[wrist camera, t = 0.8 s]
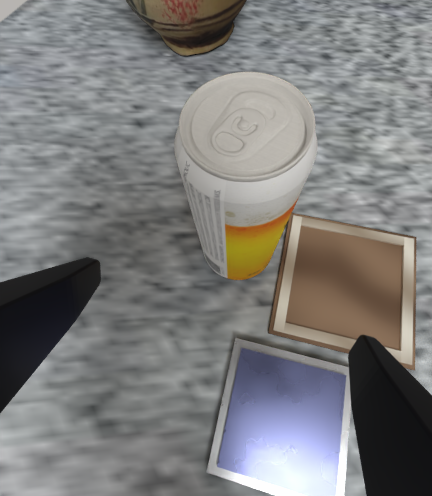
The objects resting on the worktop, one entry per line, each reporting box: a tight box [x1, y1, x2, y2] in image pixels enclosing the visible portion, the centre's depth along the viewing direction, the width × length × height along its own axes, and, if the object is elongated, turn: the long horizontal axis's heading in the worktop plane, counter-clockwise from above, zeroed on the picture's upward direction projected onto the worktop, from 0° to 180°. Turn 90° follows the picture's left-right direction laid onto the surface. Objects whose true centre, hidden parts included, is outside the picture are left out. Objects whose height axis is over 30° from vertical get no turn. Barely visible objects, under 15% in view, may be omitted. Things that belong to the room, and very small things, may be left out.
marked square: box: [268, 213, 416, 370], centre depth 23 cm, size 11×11×1 cm
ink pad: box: [206, 338, 351, 496], centre depth 20 cm, size 9×9×1 cm
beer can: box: [174, 72, 317, 280], centre depth 18 cm, size 6×6×15 cm
